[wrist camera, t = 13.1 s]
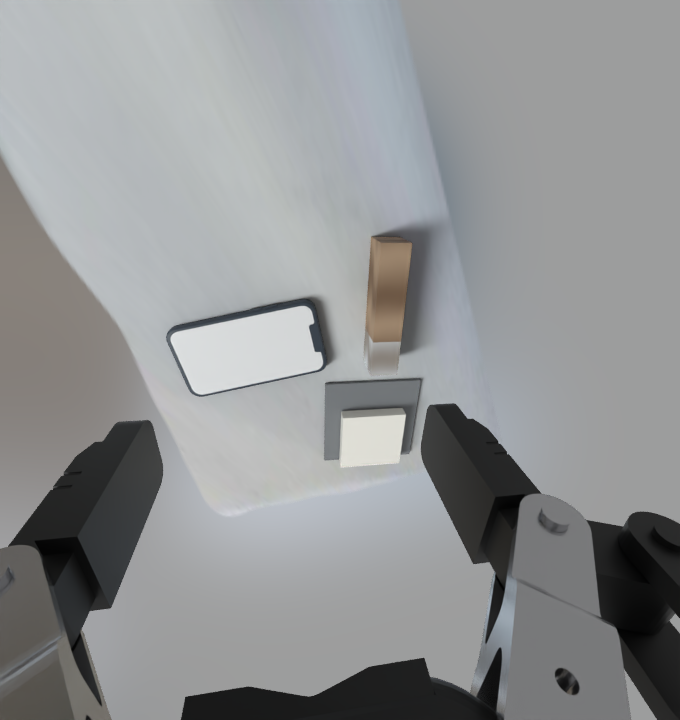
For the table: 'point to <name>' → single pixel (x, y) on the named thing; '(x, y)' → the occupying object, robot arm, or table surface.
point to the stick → (386, 303)
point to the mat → (368, 406)
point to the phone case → (249, 347)
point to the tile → (371, 437)
